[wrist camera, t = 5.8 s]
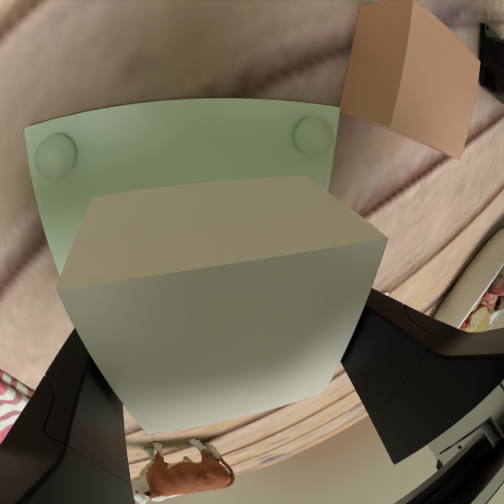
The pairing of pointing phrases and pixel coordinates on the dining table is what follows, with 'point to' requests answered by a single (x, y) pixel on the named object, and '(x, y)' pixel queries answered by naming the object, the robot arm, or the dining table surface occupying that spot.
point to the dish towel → (11, 401)
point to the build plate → (170, 152)
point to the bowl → (477, 290)
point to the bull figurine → (181, 474)
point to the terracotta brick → (411, 75)
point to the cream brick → (218, 295)
